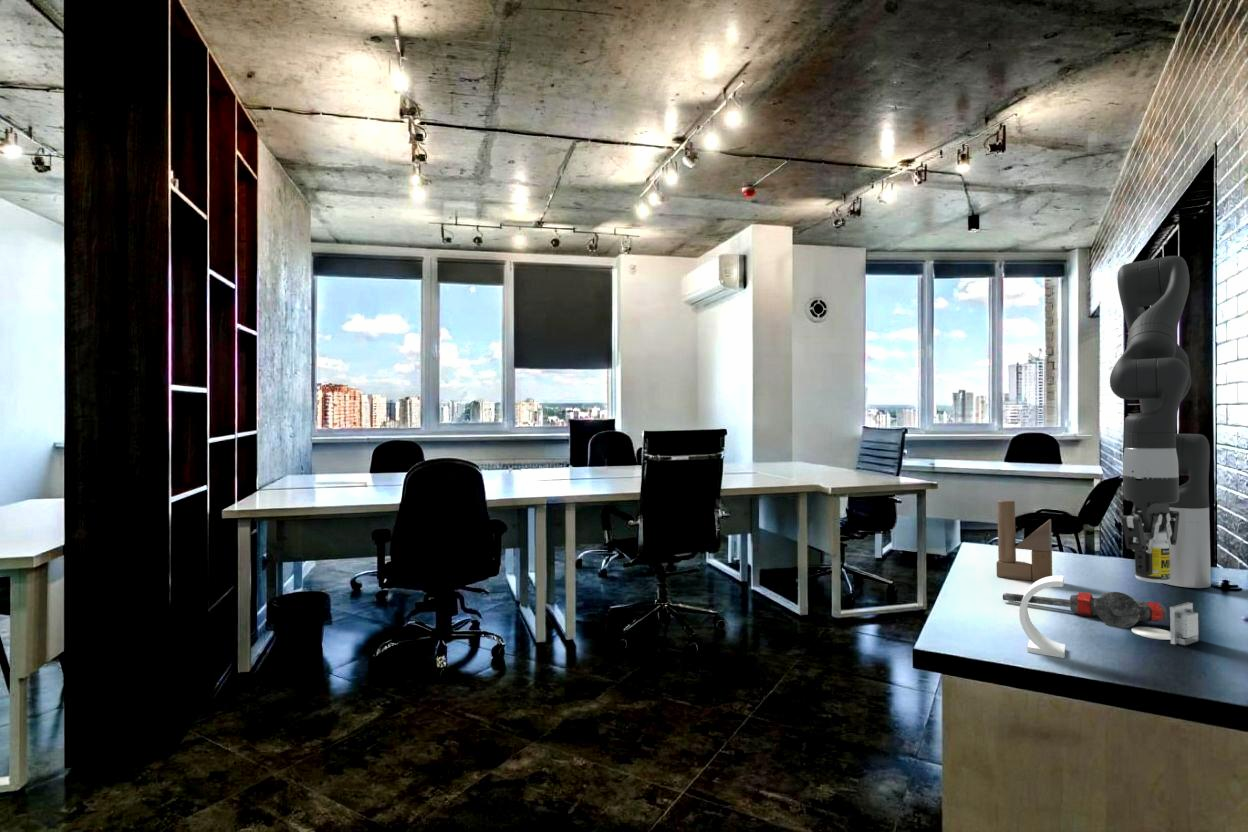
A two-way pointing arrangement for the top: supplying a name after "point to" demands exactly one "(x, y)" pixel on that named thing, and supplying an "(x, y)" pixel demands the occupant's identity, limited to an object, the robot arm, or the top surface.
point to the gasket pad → (1152, 633)
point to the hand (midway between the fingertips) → (1152, 572)
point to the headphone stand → (1036, 639)
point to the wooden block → (1022, 547)
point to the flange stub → (1183, 624)
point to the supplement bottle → (1158, 561)
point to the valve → (1104, 607)
